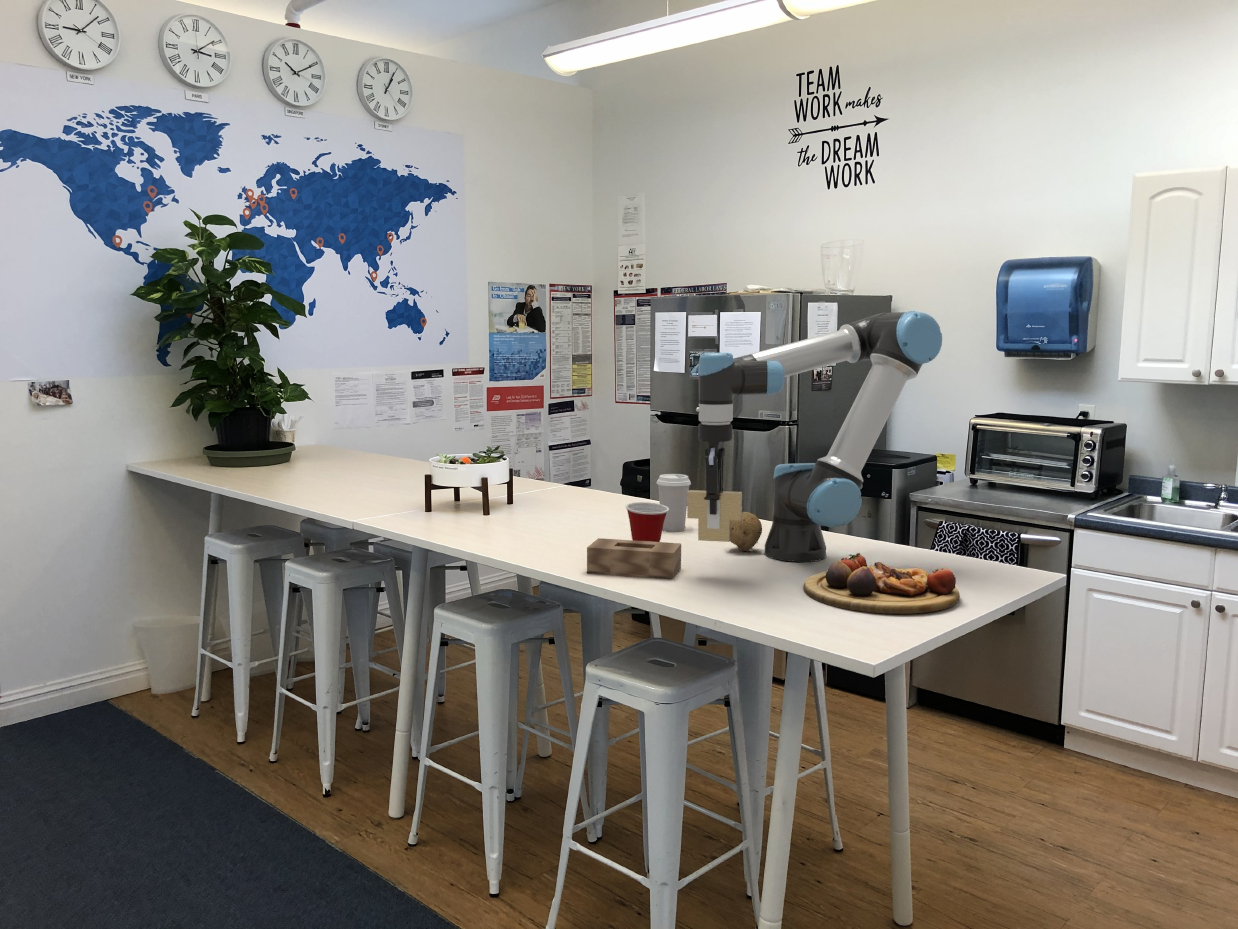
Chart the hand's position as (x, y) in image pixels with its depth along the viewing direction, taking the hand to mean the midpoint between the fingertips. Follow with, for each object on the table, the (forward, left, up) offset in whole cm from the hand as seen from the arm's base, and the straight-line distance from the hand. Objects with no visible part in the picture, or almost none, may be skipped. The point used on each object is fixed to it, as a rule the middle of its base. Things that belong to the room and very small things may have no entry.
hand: (714, 526), depth 216 cm
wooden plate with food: (-36, +5, -12) cm, 39 cm away
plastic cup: (+19, -18, -12) cm, 29 cm away
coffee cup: (+18, -48, -12) cm, 53 cm away
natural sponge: (-4, -27, -12) cm, 29 cm away
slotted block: (+18, 0, -11) cm, 22 cm away
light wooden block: (0, 0, -3) cm, 3 cm away
